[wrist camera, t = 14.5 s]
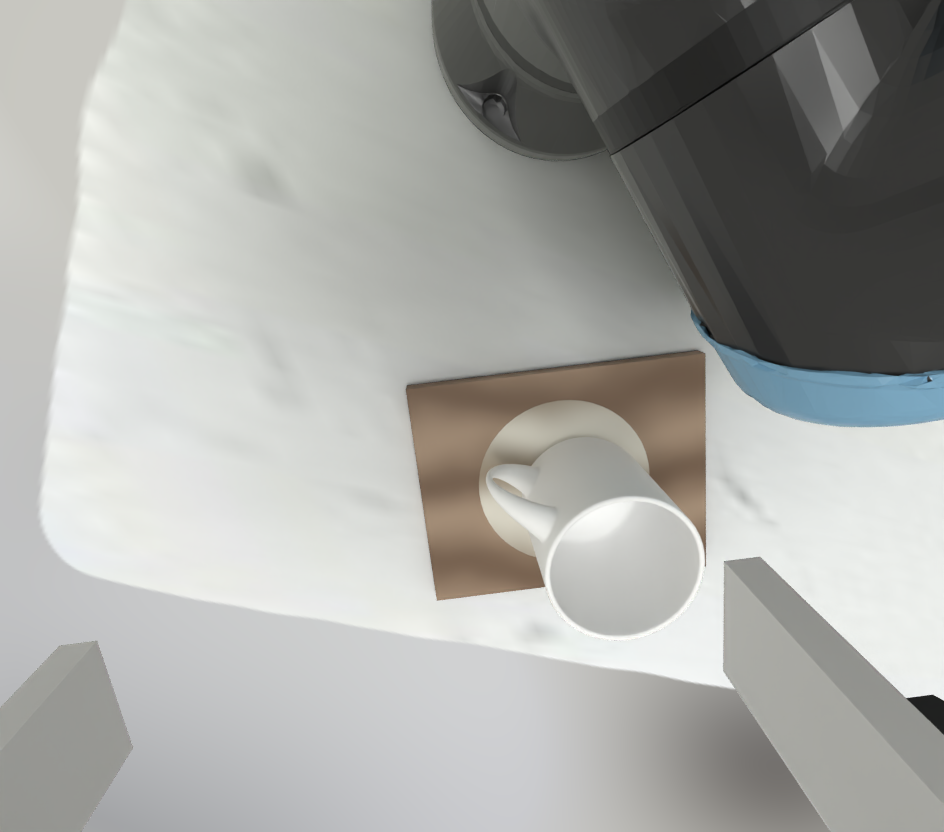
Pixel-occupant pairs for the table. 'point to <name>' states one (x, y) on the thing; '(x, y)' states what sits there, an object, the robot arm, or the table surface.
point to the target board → (532, 433)
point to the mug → (604, 538)
